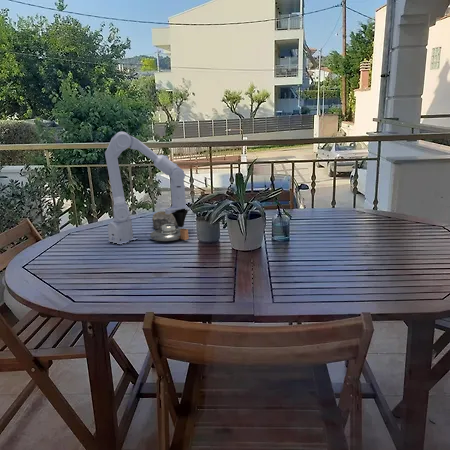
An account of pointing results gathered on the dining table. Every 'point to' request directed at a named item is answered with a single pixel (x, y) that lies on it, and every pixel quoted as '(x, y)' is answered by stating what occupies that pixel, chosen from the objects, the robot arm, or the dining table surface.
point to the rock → (163, 219)
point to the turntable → (179, 234)
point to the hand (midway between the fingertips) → (180, 226)
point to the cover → (168, 229)
